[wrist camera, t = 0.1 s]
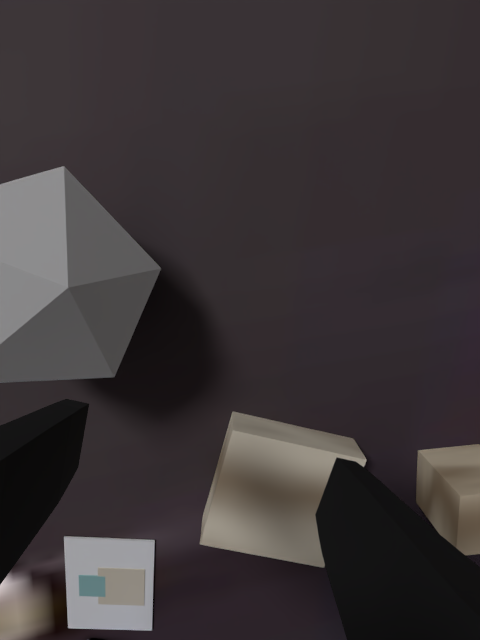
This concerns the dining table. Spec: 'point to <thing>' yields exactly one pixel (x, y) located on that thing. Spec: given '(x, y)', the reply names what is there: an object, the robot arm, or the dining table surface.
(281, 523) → the birch slab
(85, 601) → the blueprint card
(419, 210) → the dining table surface
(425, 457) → the block
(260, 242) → the dining table surface
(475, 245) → the dining table surface
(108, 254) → the die
